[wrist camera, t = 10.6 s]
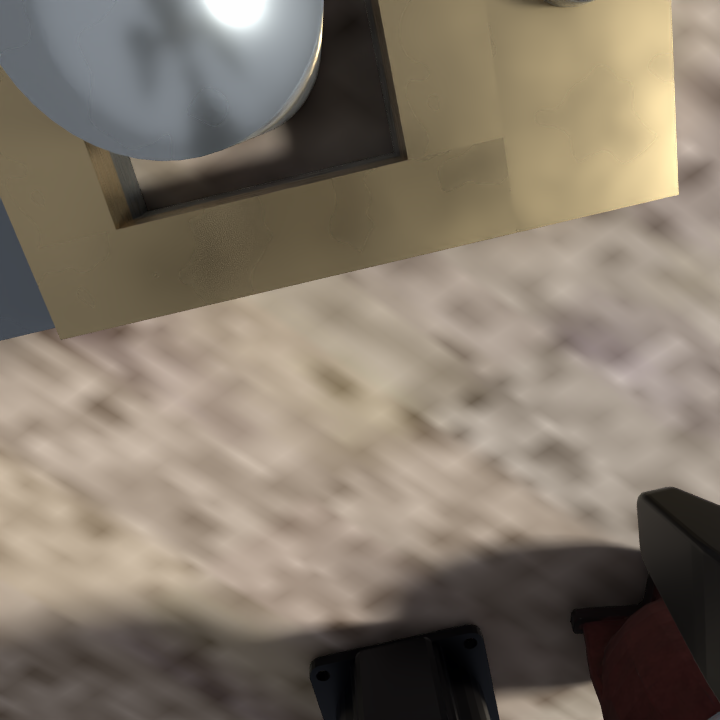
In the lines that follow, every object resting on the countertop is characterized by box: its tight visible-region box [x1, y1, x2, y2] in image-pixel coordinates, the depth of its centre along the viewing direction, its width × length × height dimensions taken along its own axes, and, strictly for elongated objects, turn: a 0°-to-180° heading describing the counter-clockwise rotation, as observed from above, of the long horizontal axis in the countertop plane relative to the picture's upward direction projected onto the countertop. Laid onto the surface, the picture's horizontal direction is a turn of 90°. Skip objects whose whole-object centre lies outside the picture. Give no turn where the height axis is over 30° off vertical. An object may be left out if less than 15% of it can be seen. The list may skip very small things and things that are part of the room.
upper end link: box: [0, 0, 679, 340], centre depth 15 cm, size 12×16×4 cm
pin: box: [0, 0, 324, 161], centre depth 12 cm, size 4×4×9 cm
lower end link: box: [0, 0, 400, 341], centre depth 15 cm, size 12×16×2 cm
